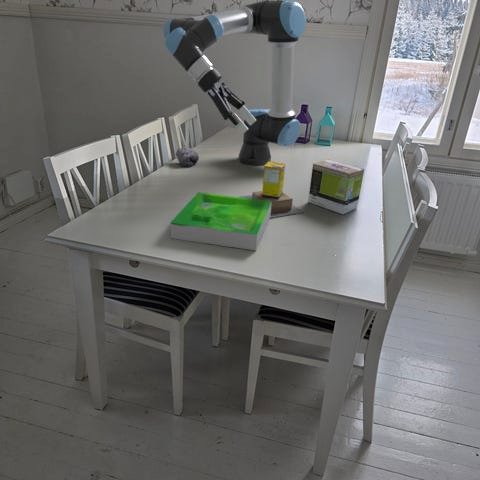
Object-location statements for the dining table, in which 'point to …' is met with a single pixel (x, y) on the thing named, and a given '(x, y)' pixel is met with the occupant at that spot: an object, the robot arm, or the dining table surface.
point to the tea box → (335, 186)
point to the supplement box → (273, 180)
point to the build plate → (277, 204)
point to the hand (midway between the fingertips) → (249, 127)
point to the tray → (222, 220)
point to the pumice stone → (187, 156)
